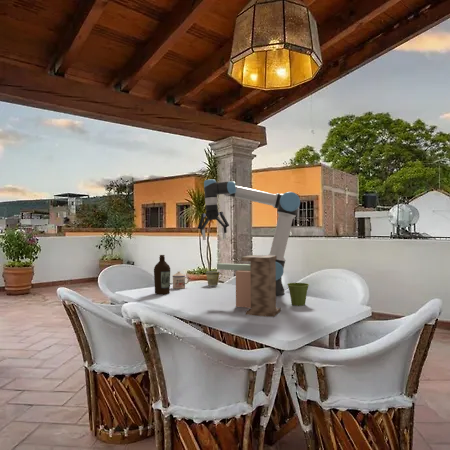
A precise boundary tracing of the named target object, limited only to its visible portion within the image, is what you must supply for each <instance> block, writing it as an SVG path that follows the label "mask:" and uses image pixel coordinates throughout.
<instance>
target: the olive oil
mask: <svg viewBox="0 0 450 450" xmlns="http://www.w3.org/2000/svg"><path fill="white" fill-rule="evenodd" d="M158 258H159V261H158V262H157V263H156V264H155V265H154V267H153V279H154V282H153V283H154V294H155V295H159V296H163V295H169V294H171V293H170V292H171V291H170V290H171V289H170V287H171V267H170V265H169V264H168V263H167V261H165V260H166V259H165V254H159V257H158Z"/></svg>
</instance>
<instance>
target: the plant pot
mask: <svg viewBox="0 0 450 450" xmlns="http://www.w3.org/2000/svg"><path fill="white" fill-rule="evenodd" d="M286 286H287V287H288V291H289V295H290V301H291V302H290V303H291V305H292V306H296V307H302V306H305V305H306V299H307V295H308V289H309V286H310V284H309V283H306V282H289V283H287V284H286Z"/></svg>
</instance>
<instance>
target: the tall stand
mask: <svg viewBox="0 0 450 450" xmlns="http://www.w3.org/2000/svg"><path fill="white" fill-rule="evenodd" d="M240 260H241V262H250V264H251V308H249V309H248V310H246V311H245V315H246V316H254V317H255V316H256V317H257V316H258V317H270V318H274V317H276V316H277V315H278V314H279V313H280V312H281V311H282V308H281V307H277V295H276V260H277V256H271V255H269V254H266V255H265V254H264V255H263V254H258V255H257V254H249V255H245V256H241V258H240Z"/></svg>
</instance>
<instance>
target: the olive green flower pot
mask: <svg viewBox="0 0 450 450" xmlns="http://www.w3.org/2000/svg"><path fill="white" fill-rule="evenodd" d="M220 275H221V276H220ZM205 276H206V281H207V285H208V286H209V287H217V286H218V284H219V280H220V279H221V278H222V277H223V273H222V272H221V273H220V270H219V271H218V270H209V271H206V272H205Z"/></svg>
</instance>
